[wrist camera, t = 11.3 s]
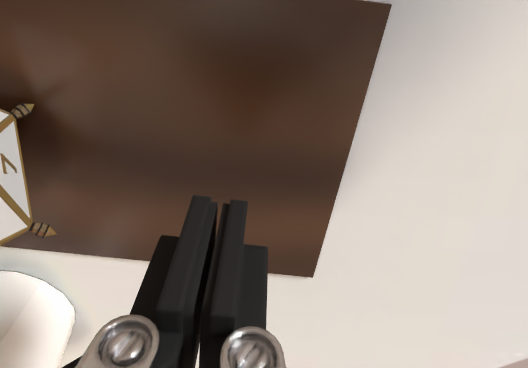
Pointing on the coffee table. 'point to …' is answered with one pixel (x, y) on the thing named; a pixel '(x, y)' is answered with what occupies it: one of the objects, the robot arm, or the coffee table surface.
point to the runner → (185, 116)
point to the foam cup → (32, 322)
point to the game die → (15, 181)
